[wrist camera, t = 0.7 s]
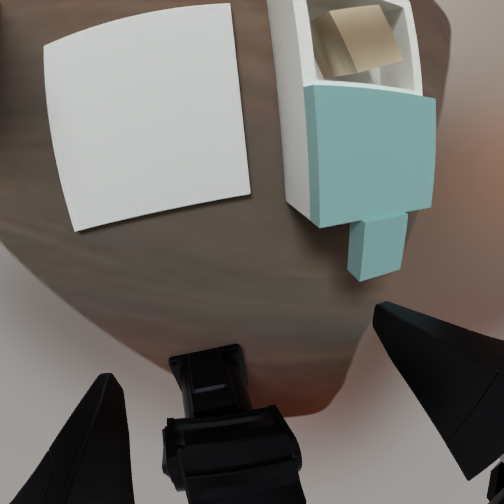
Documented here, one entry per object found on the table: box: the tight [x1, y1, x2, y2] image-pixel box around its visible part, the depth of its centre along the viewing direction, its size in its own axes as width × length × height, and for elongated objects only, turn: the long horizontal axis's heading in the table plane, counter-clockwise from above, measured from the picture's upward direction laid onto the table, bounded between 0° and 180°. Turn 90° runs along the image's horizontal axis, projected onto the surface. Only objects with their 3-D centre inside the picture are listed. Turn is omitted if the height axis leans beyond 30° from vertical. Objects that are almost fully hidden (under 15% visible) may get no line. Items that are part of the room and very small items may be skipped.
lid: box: [303, 85, 436, 282], centre depth 15 cm, size 12×9×2 cm
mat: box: [44, 3, 251, 232], centre depth 14 cm, size 13×12×1 cm
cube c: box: [310, 5, 403, 79], centre depth 13 cm, size 4×4×4 cm
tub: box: [266, 0, 423, 220], centre depth 15 cm, size 15×9×4 cm, turn 6°
